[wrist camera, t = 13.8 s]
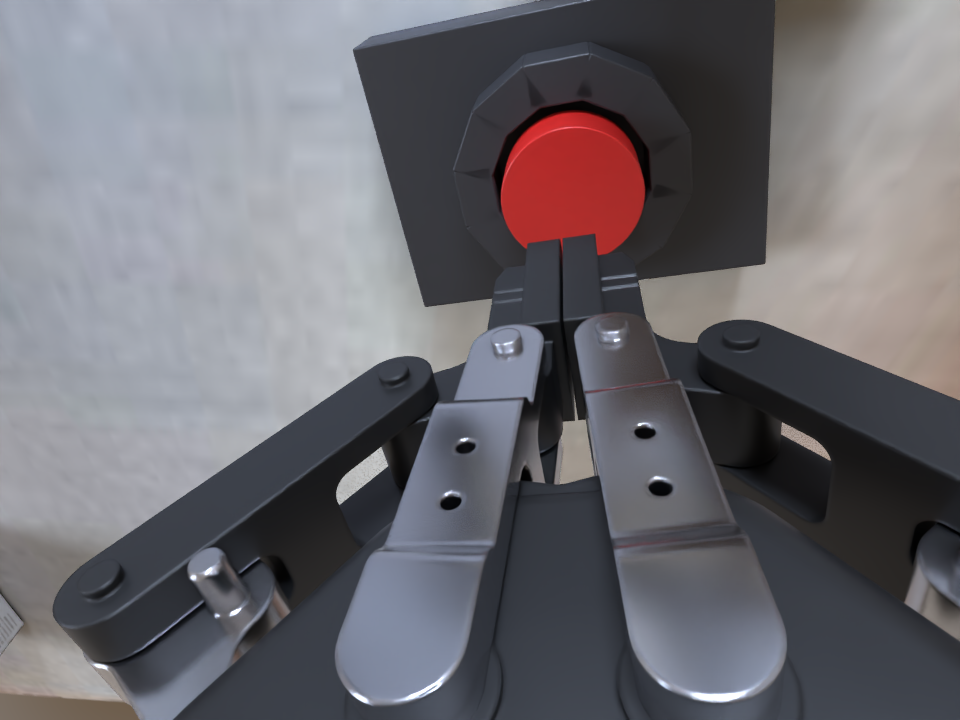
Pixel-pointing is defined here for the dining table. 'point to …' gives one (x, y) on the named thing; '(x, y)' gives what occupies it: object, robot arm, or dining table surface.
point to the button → (573, 181)
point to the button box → (577, 86)
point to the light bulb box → (8, 624)
